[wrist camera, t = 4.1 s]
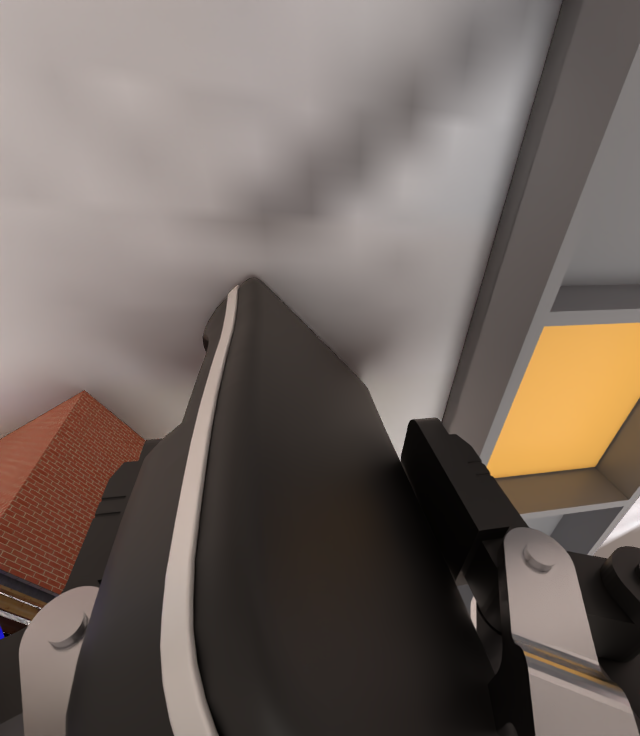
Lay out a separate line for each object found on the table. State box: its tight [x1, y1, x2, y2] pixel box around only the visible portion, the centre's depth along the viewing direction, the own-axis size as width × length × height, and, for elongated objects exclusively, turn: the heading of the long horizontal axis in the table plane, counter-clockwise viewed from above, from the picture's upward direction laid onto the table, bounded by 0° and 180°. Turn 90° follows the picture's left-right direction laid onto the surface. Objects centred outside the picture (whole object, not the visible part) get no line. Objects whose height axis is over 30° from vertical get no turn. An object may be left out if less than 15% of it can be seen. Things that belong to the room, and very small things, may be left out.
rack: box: [442, 0, 640, 617], centre depth 16 cm, size 32×10×3 cm, turn 178°
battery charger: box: [65, 278, 499, 736], centre depth 9 cm, size 7×4×11 cm, turn 40°
